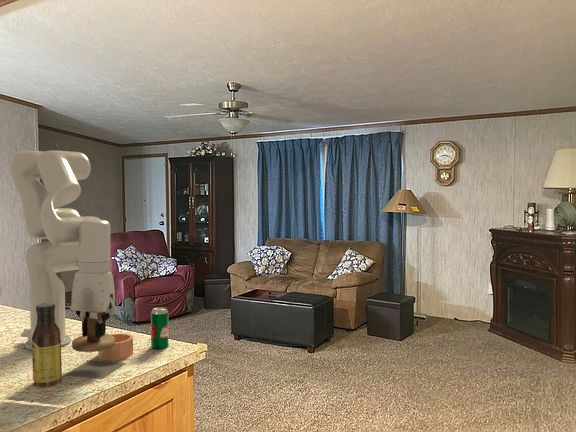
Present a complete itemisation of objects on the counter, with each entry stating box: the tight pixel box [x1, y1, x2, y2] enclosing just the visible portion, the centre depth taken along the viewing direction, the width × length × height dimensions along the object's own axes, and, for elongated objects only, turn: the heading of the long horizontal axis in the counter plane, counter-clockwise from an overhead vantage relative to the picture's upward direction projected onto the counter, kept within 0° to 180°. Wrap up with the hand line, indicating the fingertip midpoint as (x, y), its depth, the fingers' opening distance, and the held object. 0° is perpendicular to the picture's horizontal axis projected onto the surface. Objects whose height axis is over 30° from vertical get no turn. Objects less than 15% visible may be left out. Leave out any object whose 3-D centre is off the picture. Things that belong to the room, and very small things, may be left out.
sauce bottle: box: [31, 303, 63, 388], centre depth 113 cm, size 7×6×20 cm
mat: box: [63, 359, 127, 380], centre depth 122 cm, size 11×11×1 cm
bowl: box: [97, 333, 134, 361], centre depth 133 cm, size 9×9×5 cm
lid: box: [71, 315, 115, 353], centre depth 123 cm, size 10×10×7 cm
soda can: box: [150, 307, 170, 351], centre depth 140 cm, size 5×5×12 cm
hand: (93, 335), depth 123 cm, fingers closed on lid, 3 cm apart
